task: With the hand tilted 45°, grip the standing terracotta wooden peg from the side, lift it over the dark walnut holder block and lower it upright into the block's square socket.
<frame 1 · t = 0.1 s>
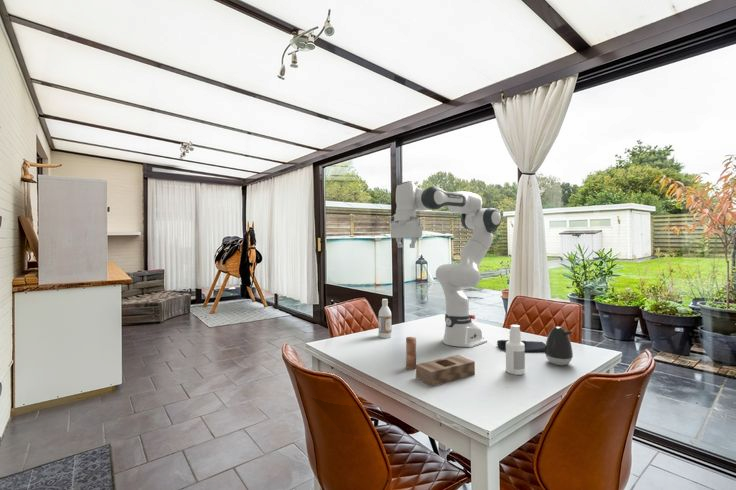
hand: (406, 247, 159), 48 cm above the table, tool pointing down, fingers open, 8 cm apart
socket block: (445, 376, 132), on the table
spray bottle: (515, 372, 136), on the table
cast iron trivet: (522, 349, 165), on the table
pump dispenser: (558, 363, 144), on the table
bath foam: (385, 337, 187), on the table
peg: (411, 367, 141), on the table
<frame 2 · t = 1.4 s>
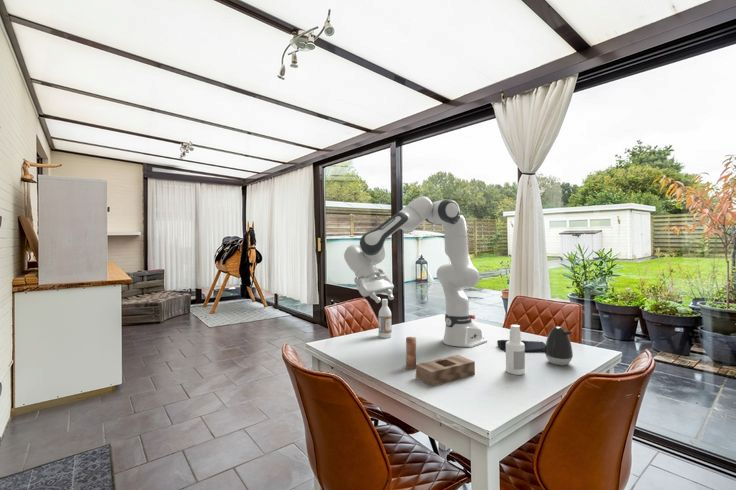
hand: (385, 300, 149), 26 cm above the table, tool tilted 45°, fingers open, 8 cm apart
nothing on the table moved.
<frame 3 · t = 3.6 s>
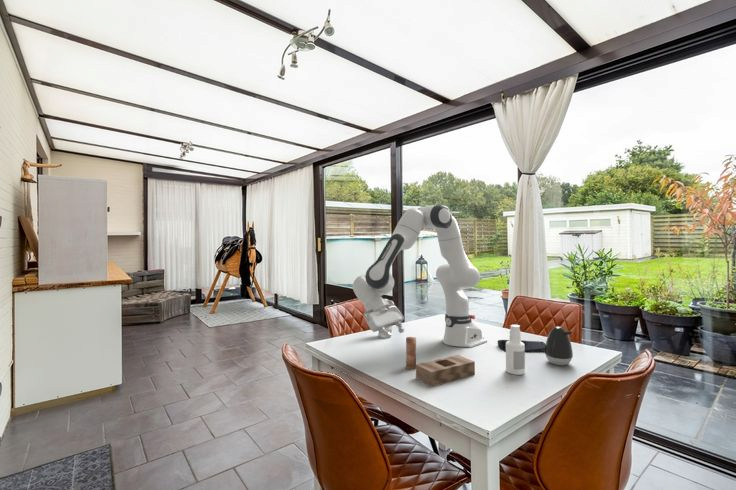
hand: (396, 334, 146), 12 cm above the table, tool tilted 45°, fingers open, 8 cm apart
nothing on the table moved.
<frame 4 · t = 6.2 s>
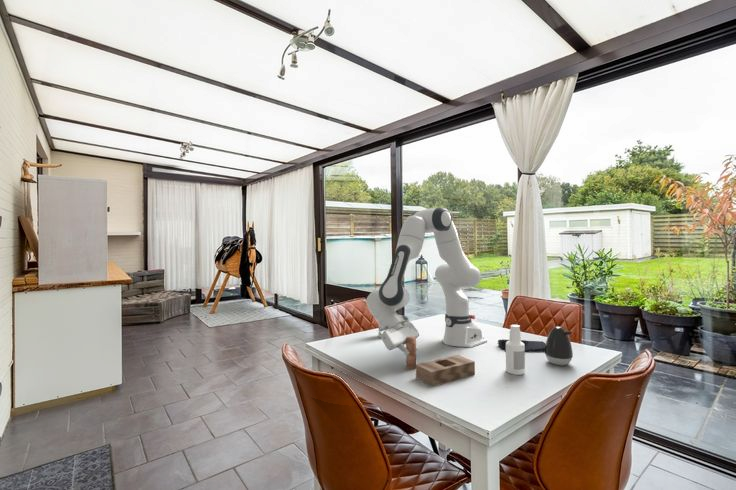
hand: (412, 352, 141), 6 cm above the table, tool tilted 45°, fingers closed on peg, 4 cm apart
peg: (411, 367, 141), on the table, touching gripper
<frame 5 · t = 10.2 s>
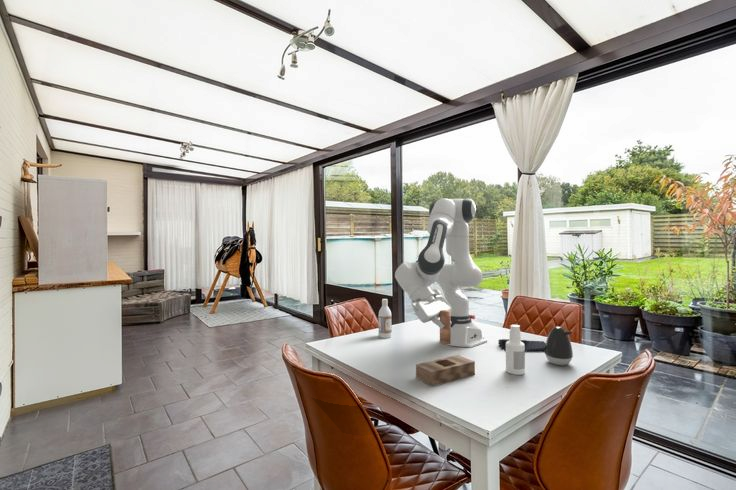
hand: (446, 326, 132), 19 cm above the table, tool tilted 45°, fingers closed on peg, 4 cm apart
peg: (445, 342, 132), point 13 cm above the table, touching gripper
when the fingers open (8 cm above the table, at t = 12.9 s): peg drops 1 cm, resting in socket block.
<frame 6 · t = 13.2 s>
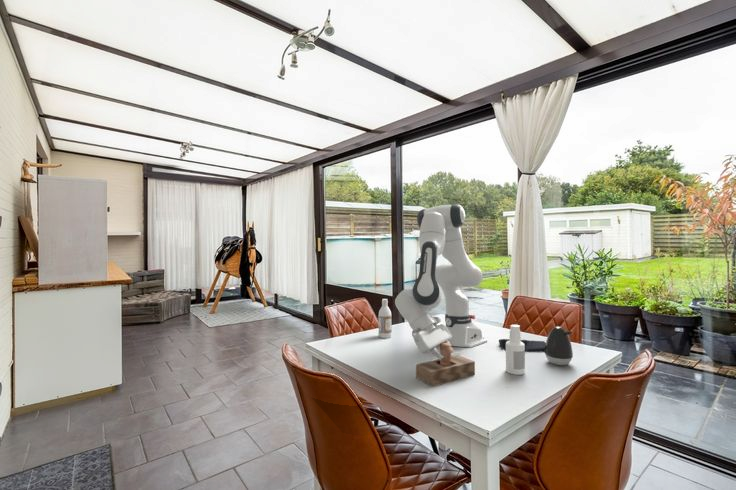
hand: (447, 355, 132), 8 cm above the table, tool tilted 45°, fingers open, 7 cm apart
peg: (445, 376, 132), resting in socket block
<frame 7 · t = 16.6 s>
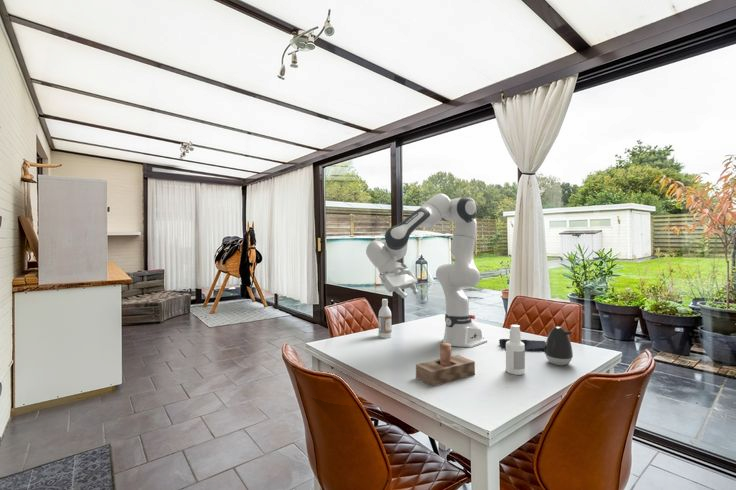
hand: (411, 295, 147), 28 cm above the table, tool tilted 45°, fingers open, 8 cm apart
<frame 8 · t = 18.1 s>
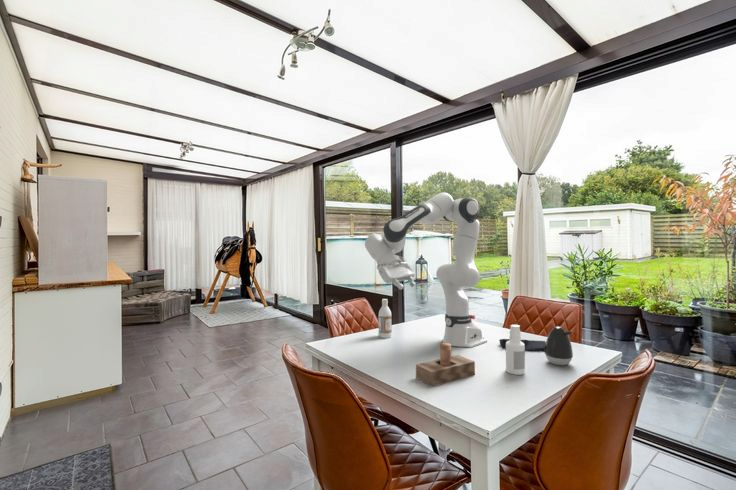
hand: (408, 287, 149), 31 cm above the table, tool tilted 45°, fingers open, 8 cm apart
at the end: peg 0.1 cm off-centre on the socket block, point 0.0 cm above the socket block's base; peg tilted 0°; the gripper is holding nothing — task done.
